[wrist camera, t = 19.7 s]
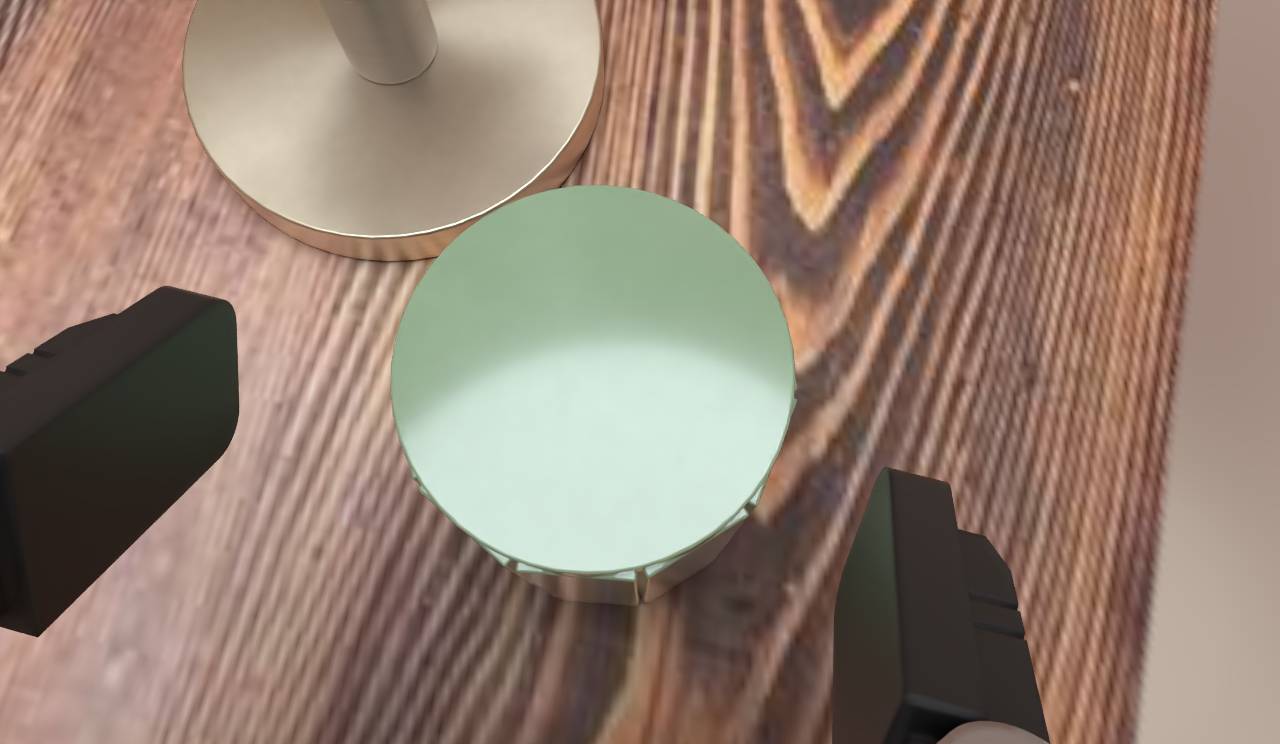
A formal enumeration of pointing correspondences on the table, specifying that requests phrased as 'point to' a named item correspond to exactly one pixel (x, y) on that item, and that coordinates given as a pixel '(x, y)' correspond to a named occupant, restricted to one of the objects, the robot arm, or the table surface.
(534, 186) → the towel holder
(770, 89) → the table surface
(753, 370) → the green grooved cylinder
